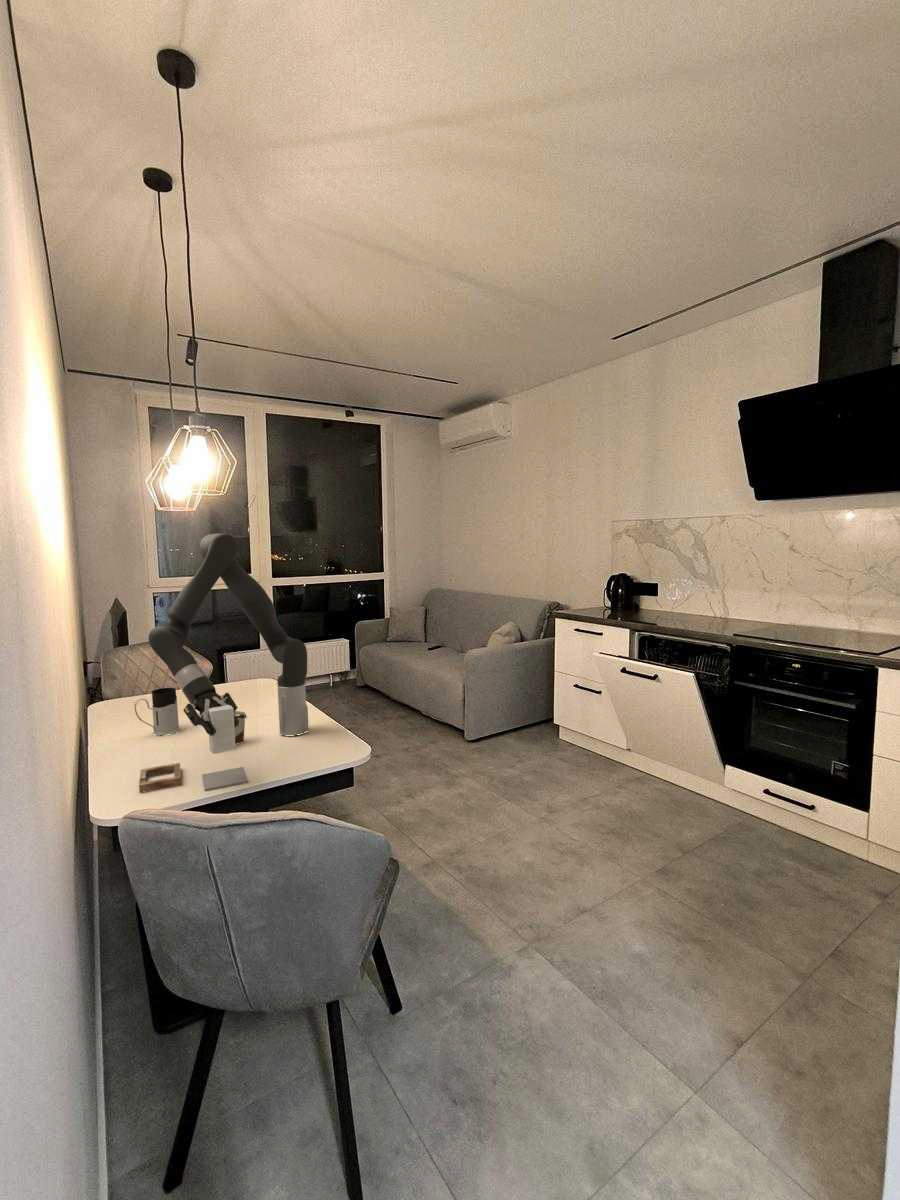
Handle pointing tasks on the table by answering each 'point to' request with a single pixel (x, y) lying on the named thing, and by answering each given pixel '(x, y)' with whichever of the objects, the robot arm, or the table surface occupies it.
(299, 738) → the table surface
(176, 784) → the walnut holder
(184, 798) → the table surface
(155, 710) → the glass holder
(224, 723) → the skincare box
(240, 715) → the food container
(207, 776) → the rubber pad
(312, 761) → the table surface
